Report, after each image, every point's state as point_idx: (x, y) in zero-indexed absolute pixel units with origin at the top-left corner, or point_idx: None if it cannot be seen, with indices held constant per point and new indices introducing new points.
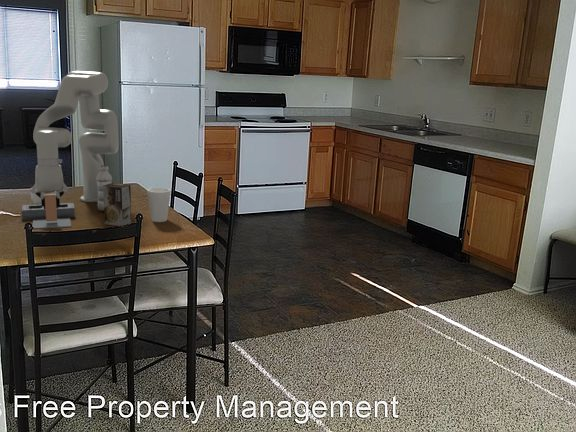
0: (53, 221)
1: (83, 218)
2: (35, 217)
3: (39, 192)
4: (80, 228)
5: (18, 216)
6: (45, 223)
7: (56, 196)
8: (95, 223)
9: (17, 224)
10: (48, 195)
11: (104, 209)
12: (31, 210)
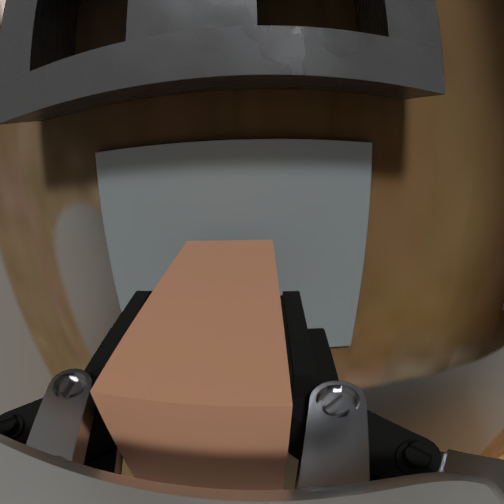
0: (243, 218)
1: (452, 153)
2: (104, 102)
3: (25, 440)
4: (386, 368)
5: None
6: None
7: (295, 450)
8: (477, 289)
9: (35, 226)
10: (171, 460)
11: None
12: (49, 107)
